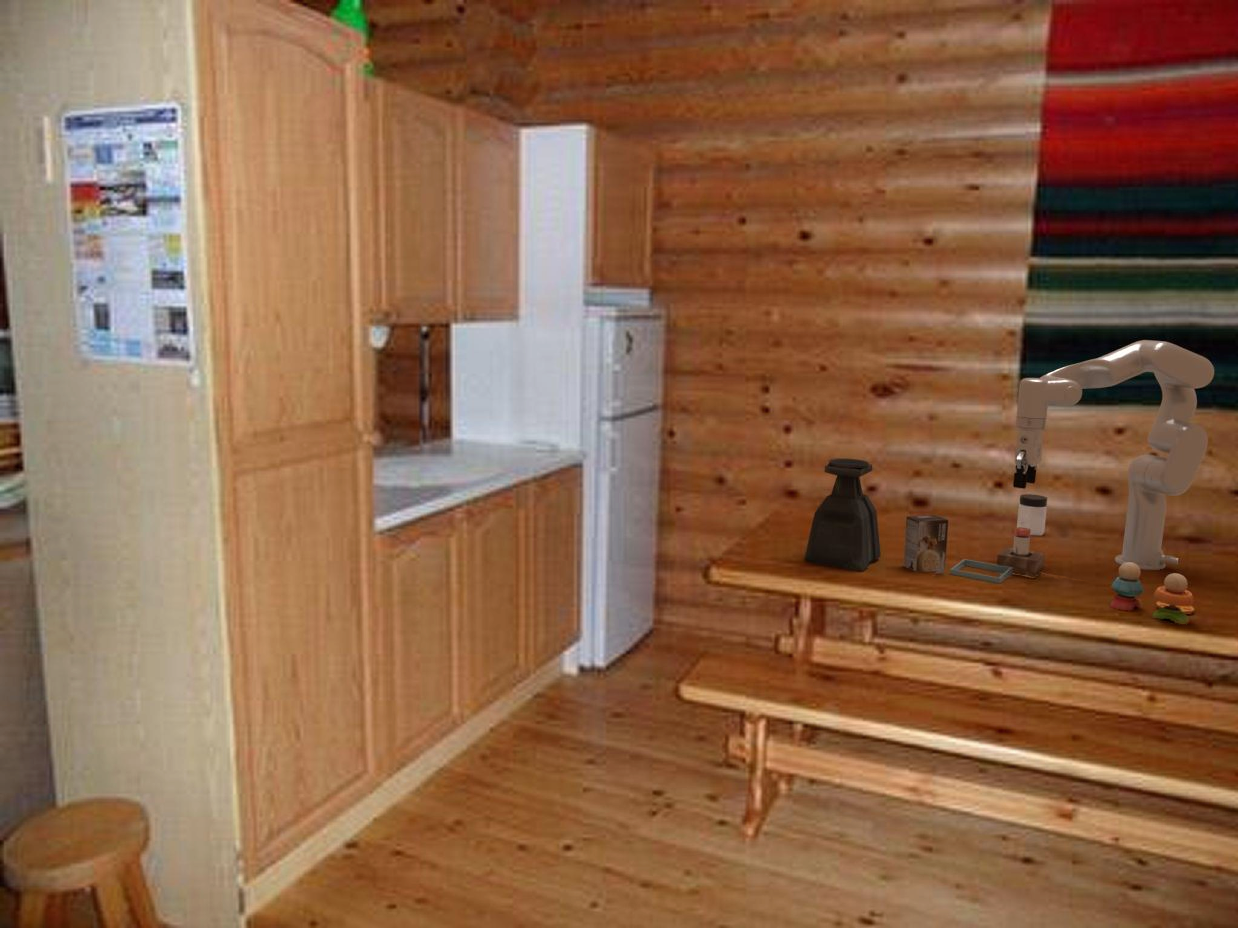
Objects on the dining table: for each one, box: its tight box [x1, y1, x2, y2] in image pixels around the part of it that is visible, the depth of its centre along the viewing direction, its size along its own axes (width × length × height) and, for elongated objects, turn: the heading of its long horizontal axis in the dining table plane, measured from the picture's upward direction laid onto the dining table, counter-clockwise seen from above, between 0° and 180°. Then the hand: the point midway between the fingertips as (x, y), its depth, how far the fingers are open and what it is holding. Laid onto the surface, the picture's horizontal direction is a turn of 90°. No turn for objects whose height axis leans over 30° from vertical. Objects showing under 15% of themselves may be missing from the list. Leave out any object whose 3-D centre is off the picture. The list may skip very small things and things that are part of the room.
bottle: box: [803, 457, 882, 572], centre depth 259 cm, size 18×16×30 cm
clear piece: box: [1012, 526, 1031, 557], centre depth 261 cm, size 4×4×12 cm
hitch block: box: [996, 546, 1045, 578], centre depth 262 cm, size 10×10×5 cm
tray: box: [949, 558, 1013, 584], centre depth 255 cm, size 13×13×2 cm
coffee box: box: [903, 514, 949, 575], centre depth 255 cm, size 9×6×16 cm
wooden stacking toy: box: [1109, 562, 1195, 623], centre depth 227 cm, size 18×17×12 cm
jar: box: [1016, 493, 1048, 536], centre depth 305 cm, size 9×8×12 cm
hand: (1024, 485), depth 260 cm, fingers open, 9 cm apart
